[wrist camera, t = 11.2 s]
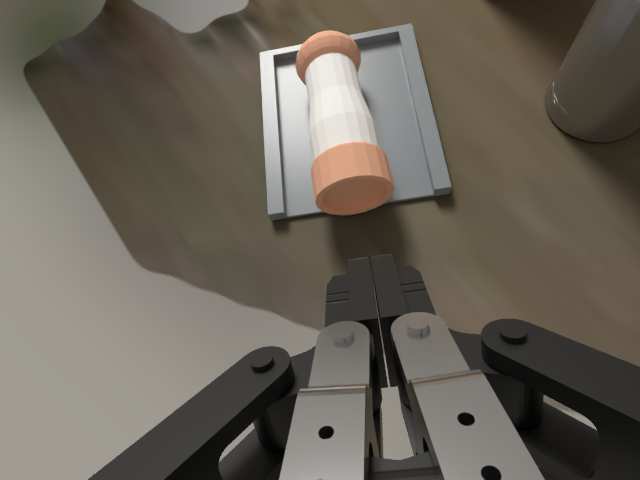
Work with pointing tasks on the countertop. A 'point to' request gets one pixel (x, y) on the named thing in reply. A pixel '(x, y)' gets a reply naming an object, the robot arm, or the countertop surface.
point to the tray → (387, 112)
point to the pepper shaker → (341, 128)
